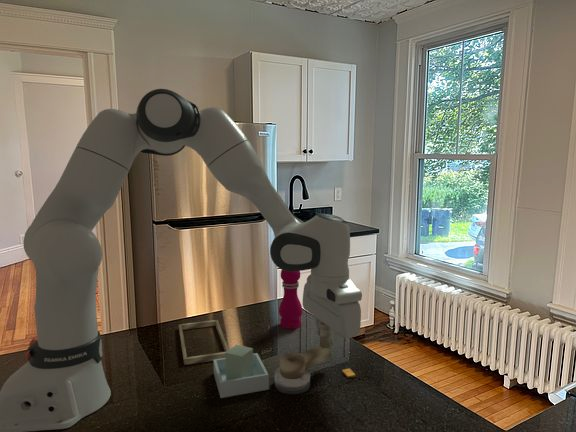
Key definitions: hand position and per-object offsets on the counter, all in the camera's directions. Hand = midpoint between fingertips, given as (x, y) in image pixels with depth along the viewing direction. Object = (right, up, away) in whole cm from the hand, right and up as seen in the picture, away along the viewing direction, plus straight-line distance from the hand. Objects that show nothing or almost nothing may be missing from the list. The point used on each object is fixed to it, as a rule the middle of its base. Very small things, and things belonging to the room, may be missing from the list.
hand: (327, 340), depth 99 cm
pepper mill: (-9, -4, +29) cm, 30 cm away
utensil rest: (-33, -6, +17) cm, 38 cm away
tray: (-20, -9, -3) cm, 22 cm away
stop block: (-20, -8, -3) cm, 22 cm away
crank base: (-3, -8, -3) cm, 9 cm away
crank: (-5, -5, -2) cm, 8 cm away
